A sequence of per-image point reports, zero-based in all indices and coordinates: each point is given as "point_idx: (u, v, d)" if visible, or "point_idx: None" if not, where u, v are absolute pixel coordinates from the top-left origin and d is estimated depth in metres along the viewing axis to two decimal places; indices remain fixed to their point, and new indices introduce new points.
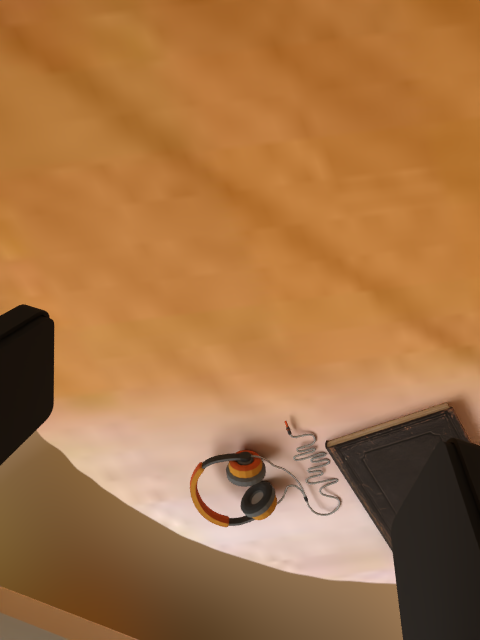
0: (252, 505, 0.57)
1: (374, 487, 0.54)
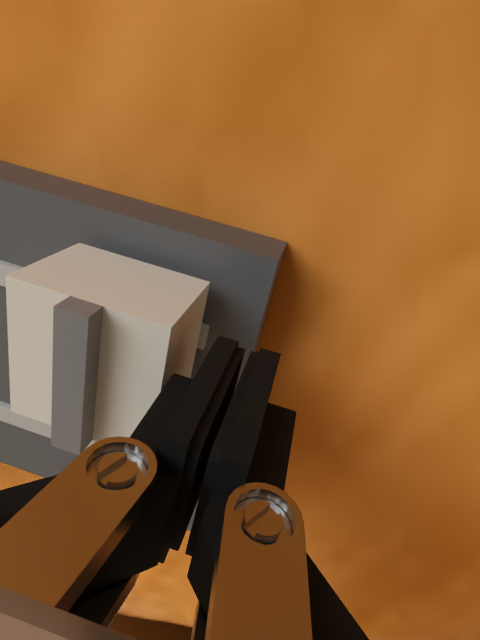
0: None
1: None
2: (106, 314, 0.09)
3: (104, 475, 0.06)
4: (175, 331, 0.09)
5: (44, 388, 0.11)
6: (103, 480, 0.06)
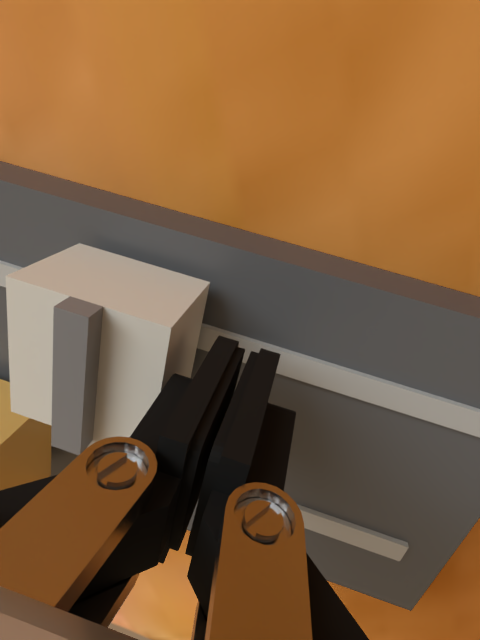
0: None
1: None
2: (106, 314, 0.09)
3: (104, 475, 0.06)
4: (175, 332, 0.09)
5: (44, 388, 0.11)
6: (103, 480, 0.06)
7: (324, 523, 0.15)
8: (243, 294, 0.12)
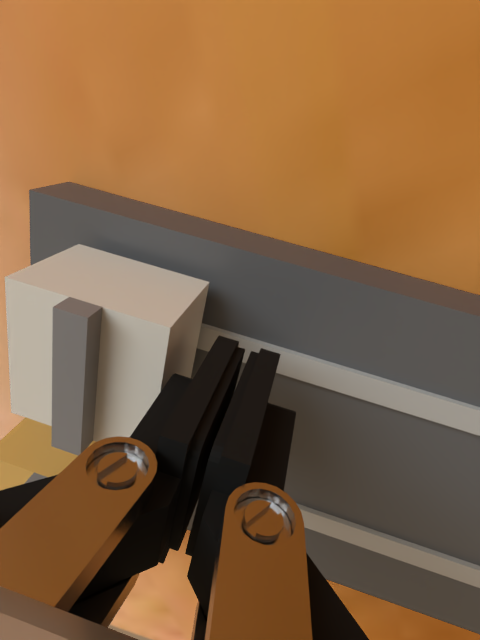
0: None
1: None
2: (105, 314, 0.09)
3: (104, 475, 0.06)
4: (174, 332, 0.09)
5: (44, 389, 0.11)
6: (103, 480, 0.06)
7: (433, 560, 0.15)
8: (372, 332, 0.12)
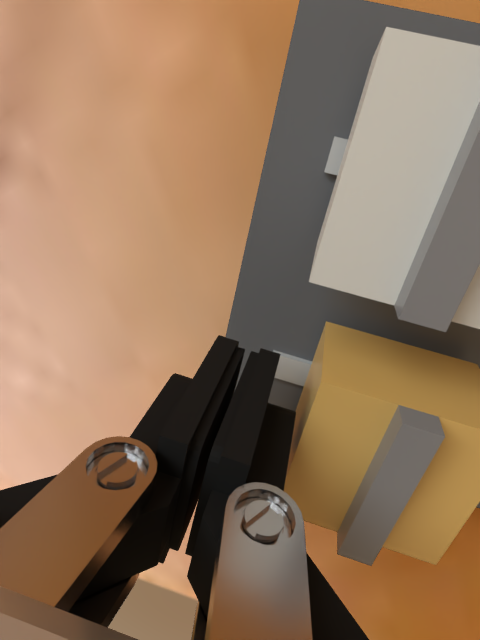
0: None
1: None
2: None
3: (104, 475, 0.06)
4: None
5: (383, 235, 0.07)
6: (103, 480, 0.06)
7: None
8: None
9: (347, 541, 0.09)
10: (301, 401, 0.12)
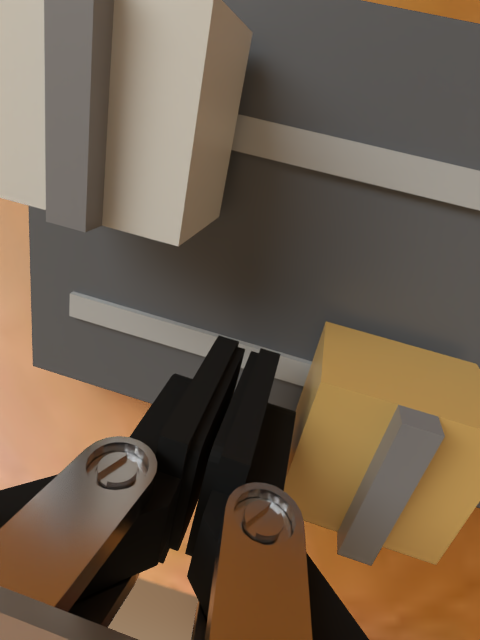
0: None
1: None
2: None
3: (104, 475, 0.06)
4: (217, 21, 0.07)
5: (36, 146, 0.08)
6: (103, 480, 0.06)
7: None
8: (473, 100, 0.09)
9: (347, 541, 0.09)
10: (301, 401, 0.12)
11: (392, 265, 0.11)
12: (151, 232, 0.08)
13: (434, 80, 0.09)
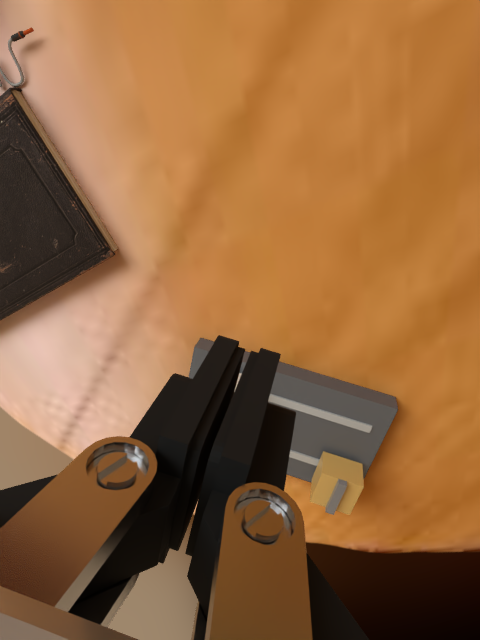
0: None
1: None
2: None
3: (104, 475, 0.06)
4: None
5: None
6: (103, 480, 0.06)
7: None
8: (297, 390, 0.40)
9: (327, 508, 0.40)
10: (316, 471, 0.42)
11: None
12: None
13: (288, 385, 0.40)
